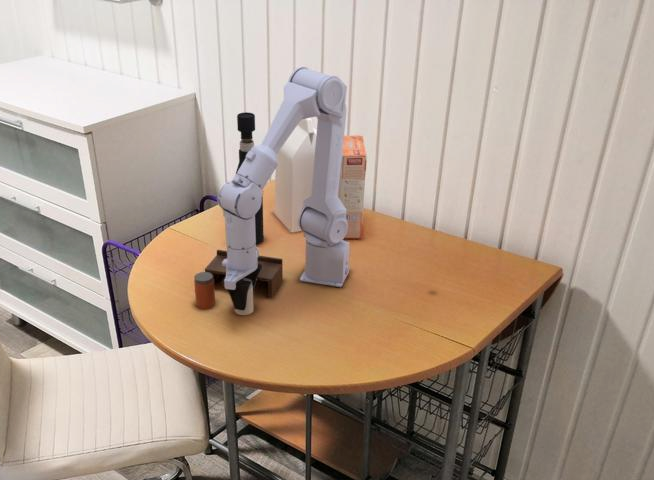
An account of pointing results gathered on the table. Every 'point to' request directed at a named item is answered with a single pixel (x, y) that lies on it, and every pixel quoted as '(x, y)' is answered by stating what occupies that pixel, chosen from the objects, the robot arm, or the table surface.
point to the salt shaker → (249, 304)
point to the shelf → (269, 272)
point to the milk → (295, 174)
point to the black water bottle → (246, 128)
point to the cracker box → (353, 183)
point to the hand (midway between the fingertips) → (243, 303)
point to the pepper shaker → (204, 290)
